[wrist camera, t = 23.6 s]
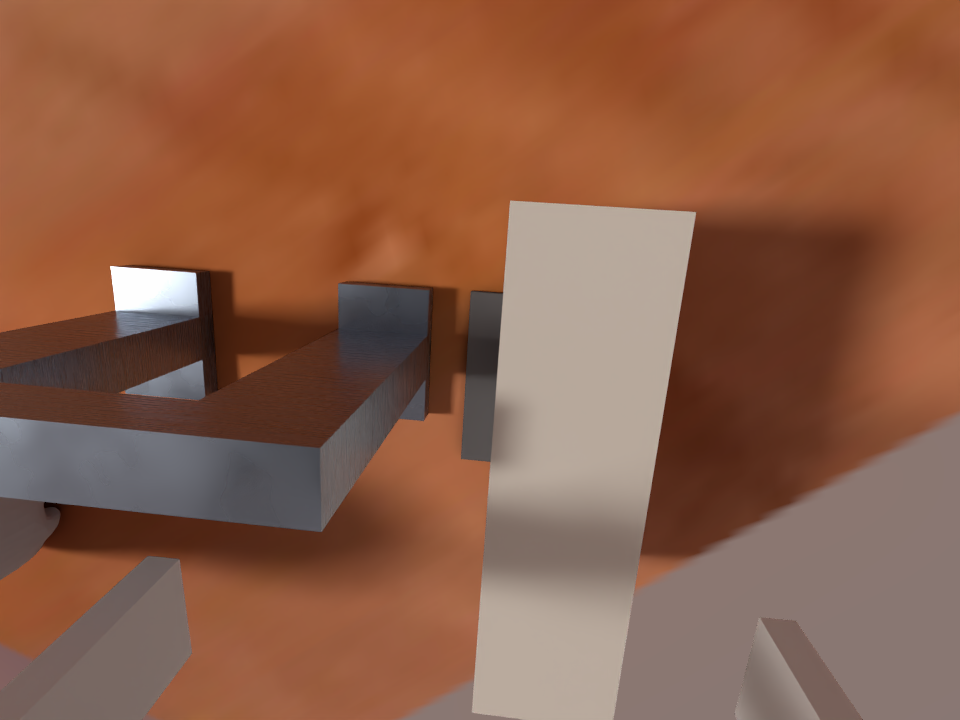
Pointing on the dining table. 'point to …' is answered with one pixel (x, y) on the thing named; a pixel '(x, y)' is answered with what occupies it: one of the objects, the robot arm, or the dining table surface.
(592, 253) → the white block
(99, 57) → the dining table surface
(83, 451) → the blue-grey arch stand
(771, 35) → the dining table surface
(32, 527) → the bottle
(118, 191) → the dining table surface
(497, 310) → the mat
